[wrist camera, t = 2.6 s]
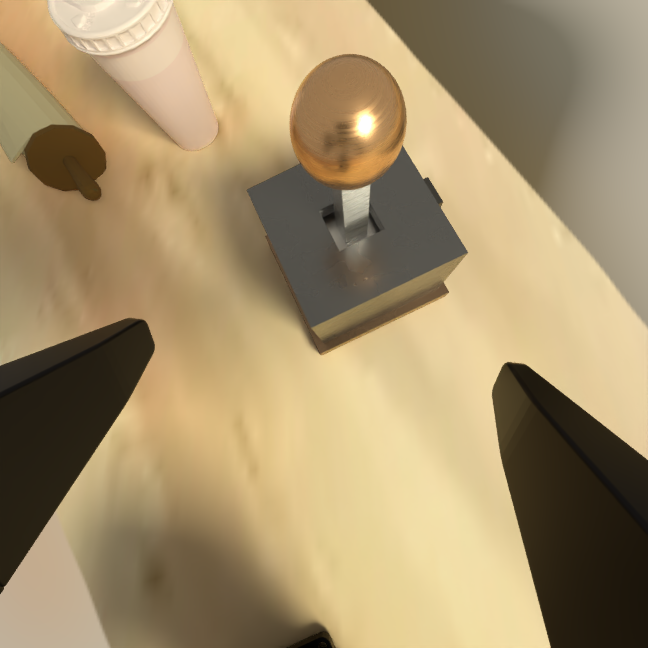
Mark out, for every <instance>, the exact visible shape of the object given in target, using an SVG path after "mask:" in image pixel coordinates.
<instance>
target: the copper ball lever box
mask: <svg viewBox="0 0 648 648" xmlns="http://www.w3.org/2000/svg"><path fill="white" fill-rule="evenodd" d="M247 192H248V194H249V196H250V198H251V200H252V203H253V205H254V207H255V209H256V211H257V213H258V215H259V218H260V220H261V222H262V224H263V226H264V228H265V230H266V233H267V236H265V237H266V239H267V241H268V243H269V245H270V247H271V249H272V252H273V254H274V256H275V258H276V260H277V262H278V264H279V267H280V269H281V271H282V273H283V275H284V277H285V280H286V282H287V284H288V286H289V288H290V290H291V292H292V295H293V297H294V299H295V301H296V303H297V305H298V308H299V310H300V312H301V314H302V316H303V318H304V320H305V323H306V325H307V327H308V329H309V331H310V333H311V335H312V338H313V340H314V342H315V344H316V346H317V348H318V351H319V353H320V354H321V355H324V354H326V353H328V352H330V351H332V350H334V349H336V348H338V347H340V346H342V345H345V344H347V343H349V342H351V341H353V340H355V339H357V338H359V337H361V336H363V335H365V334H367V333H370V332H372V331H374V330H376V329H378V328H380V327H382V326H384V325H386V324H388V323H390V322H392V321H395V320H397V319H399V318H401V317H403V316H405V315H407V314H409V313H411V312H413V311H415V310H418V309H420V308H422V307H424V306H426V305H428V304H430V303H432V302H434V301H436V300H438V299H440V298H443V297H445V296H446V295H447V294H448V293H449V291H448V289H447V288H446V286H445V284H444V281H445V280H446V278H447V277H448V276H449V275H450V274H451V272H452V271H453V270H454V269H455V268H456V266H457V265H458V264H459V263H460V262H461V260H462V259H463V258H464V257H465V256H466V254H467V253H468V252H467V250H466V248H465V247H464V245H463V244H462V242H461V240H460V239H459V237H458V235H457V234H456V232H455V230H454V229H453V227H452V226H451V224H450V222H449V221H448V219H447V217H446V216H445V214H444V213H443V211H442V209H441V205H442V203H443V201H442V199H441V198H440V196H439V194H438V193H437V191H436V189H435V188H434V186H433V185H432V183H431V181H430V180H429V178H428V177H427V178H425V179H423V178H422V177H421V175H420V173H419V172H418V170H417V168H416V167H415V165H414V163H413V162H412V160H411V159H410V157H409V155H408V154H407V152H406V150H405V149H404V147H403V145H402V148H401V150H400V152H399V154H398V156H397V158H396V160H395V162H394V163H393V165H392V166H391V167H390V168H389V170H388V171H387V172H386V173H385V174H384V175H383V176H382V177H380V178H379V179H378V180H376V181H375V182H373V183H372V184H370V198H369V211H370V213H371V215H372V216H373V218H374V220H375V222H376V224H377V226H378V227H379V229H380V232H378V233H376V234H374V235H372V236H370V237H368V238H365V239H363V240H361V241H359V242H357V243H355V244H353V245H351V246H349V247H347V248H345V249H343V250H341V251H339V249H338V247H337V245H336V243H335V241H334V239H333V237H332V235H331V233H330V231H329V230H328V228H327V226H326V224H325V222H324V220H323V218H322V217H324V216H326V215H328V214H331V213H333V212H334V206H333V198H332V191H331V188H329V187H327V186H325V185H322V184H321V183H319V182H317V181H316V180H314V179H313V178H312V177H311V176H310V175H309V174H308V173H307V172H306V171H305V169H304V168H303V167H302V165H301V164H299V165H297V166H295V167H293V168H291V169H289V170H287V171H284V172H282V173H280V174H278V175H276V176H274V177H272V178H270V179H268V180H266V181H264V182H262V183H260V184H258V185H256V186H254V187H252V188H250V189H248V190H247Z"/></svg>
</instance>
